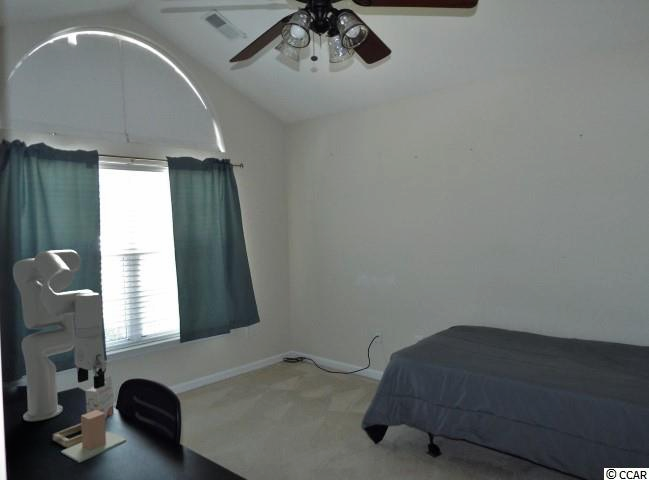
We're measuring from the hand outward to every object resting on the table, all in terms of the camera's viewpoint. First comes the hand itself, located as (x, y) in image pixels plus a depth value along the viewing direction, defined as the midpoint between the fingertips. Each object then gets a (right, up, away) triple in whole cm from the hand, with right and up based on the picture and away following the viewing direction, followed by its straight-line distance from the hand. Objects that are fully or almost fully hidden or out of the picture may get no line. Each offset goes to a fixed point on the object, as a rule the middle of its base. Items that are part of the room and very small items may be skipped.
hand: (91, 384), depth 138 cm
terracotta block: (+1, -20, 0) cm, 20 cm away
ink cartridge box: (-9, -20, +22) cm, 31 cm away
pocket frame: (-9, -20, +7) cm, 23 cm away
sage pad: (+1, -20, 0) cm, 20 cm away
